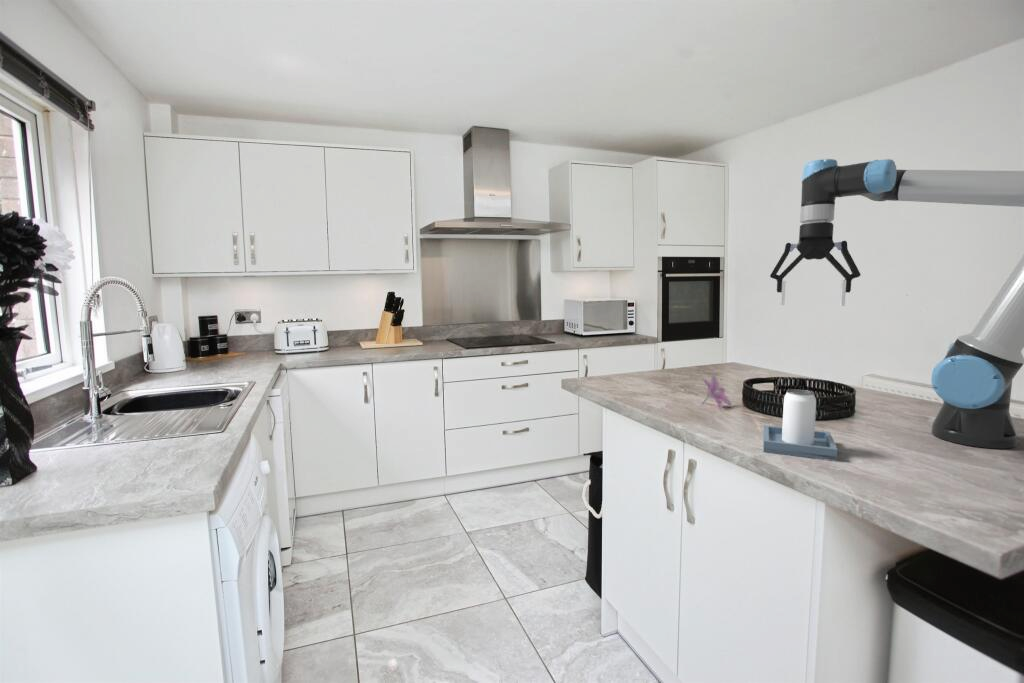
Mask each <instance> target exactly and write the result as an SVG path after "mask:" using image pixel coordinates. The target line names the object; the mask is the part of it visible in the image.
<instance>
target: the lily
mask: <svg viewBox="0 0 1024 683" xmlns="http://www.w3.org/2000/svg"><path fill="white" fill-rule="evenodd" d="M701 380H702V381H703V382H704V384H705V385H706V387H707V388H708V390H707V391H706V398H705V399H704V400H703V402H702V403H701V405H702V404H703V405H704V404H705V402H706V401H707V400H708V399H709V398H710V399H714V401H715V402H716V404H717V406H718V409H719V410H720V409H723V404H725V405H727V406H729V407H731V408H732V406H733V407H734V405H733V403H732V402H731V400H730V398H729V397H728V396H727V395H726V389H725V387H723V386H720V382H719V381H718V378H717V377H716V374H714V372H711V378H710V381H709V380H707V379H705V377H704V378H703V377H702V378H701Z"/></svg>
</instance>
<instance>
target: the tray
mask: <svg viewBox="0 0 1024 683" xmlns="http://www.w3.org/2000/svg"><path fill="white" fill-rule="evenodd" d="M763 453H769V454H775V455H777V454H778V455H784V456H785V455H786V456H794V457H801V456H802V458H808V457H810V458H809V459H816V458H818V460H824V459H828V460H827V461H832V460H834V461H833V462H837V461H838V448H837V445H836V443H835V440H834V439H833V435H832V434H831V432H830V431H822V430H815V431H814V443H813V444H812V445H804V444H795V443H787V442H783V440H782V426H774V425H765V424H764V425H763Z"/></svg>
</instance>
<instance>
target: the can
mask: <svg viewBox="0 0 1024 683" xmlns="http://www.w3.org/2000/svg"><path fill="white" fill-rule="evenodd" d="M782 409H783V410H782V426H781V427H782V440H783V442H787V443H795V444H804V445H812V444H813V443H814V431H816V429H815V428H816V416H817V415H816V412H817V398H816V397H815V392H813V391H811V390H807V389H796V388H795V389H794V388H793V389H787V390H786V393H785V395H784V396H783V408H782Z"/></svg>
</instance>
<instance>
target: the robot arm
mask: <svg viewBox="0 0 1024 683" xmlns="http://www.w3.org/2000/svg"><path fill="white" fill-rule="evenodd" d="M852 196H853V197H854V196H862V197H865V198H867V199H868V200H870V201H874V202H885V201H889V202H891V201H895V202H897V201H899V202H918V203H923V202H924V203H941V204H957V205H960V204H961V205H978V206H980V205H981V206H998V207H1001V206H1002V207H1016V208H1017V207H1018V208H1019V207H1020V208H1024V170H977V169H976V170H975V169H974V170H970V169H969V170H966V169H965V170H963V169H962V170H960V169H957V170H956V169H955V170H954V169H897V165H896V162H895V161H894V159H890V158H887V159H874V160H872V161H871V160H870V161H864V162H860V163H854V164H853V163H852V164H847V165H838V161H837V160H836V159H834V158H826V159H825V158H823V159H816V160H812V161H809V162H808V163H806V164H805V165H804V166H803V173H802V179H801V202H800V204H801V205H800V217H799V219H800V220H799V222H800V224H801V225H799V236H798V242H797V243H790V242H787V243H786V244H785V245H784V246H785V247H784V252H783V253H782V255H781V256H780V258H779V260H778V262H777V263H776V265H775V266H774V268H773V270H772V271H771V273H770V275H769V277H770V278H771V279H774V280H776V292H777V293H780V294H781V295H780V296H781V297H780V306H785V299H786V283H787V282H786V280H783V279H784V278H785V277H786V276H787V275H788V274H789V273H790V272H791V271H792V270H794V268H795V267H796V266H797V265H798V264H799V263H800V262H801V261H802V260H803V259H805V260H809V261H810V260H823V259H826V260H827V262H829V263H830V264H831V265H832V266H833V267H834V269H835V270H836V271H837V272H838V273H839V274H840V275H841V276H842V277H843V278H844V279H841V284H840V294H839V295H840V297H839V306H840V307H841V306H842V307H845V306H846V293H850V292H851V291H852V281H853V279H856V278H859V277H861V272H860V271H859V268H858V266H857V265H856V262H855V261H854V259H853V257H852V255H851V254H850V251H849V249H848V242H847V240H842V241H838V242H836V241H835V242H834V240H833V238H834V237H833V236H834V223H833V222H834V219H835V204H836V198H843V197H852ZM834 248H836V249H837V250H838V251H840V253H841V254H842V257H843V258H844V261H845V263H846V264H847V267H848V268H849V270H850V272H851V273H849V271H847V270H846V268H844V266H843V265H841V263H840V262H839V261H838V260H837V259H836V258H835V257H834V256H833V254H832V253H831V252H832V250H833V249H834ZM795 249H796V250H797V251H798V252H799V254H798V256H797V257H796V258H795V259H794V260H793V261H792V262H791V263H790V264H789V265H788V266H787V267H786V268H785V269H784V270H783V271H782V272H781V273H780V274H777V273H779V271H780V269H781V268H782V266H783V264H784V263H785V261H786V260H787V257H788V256H789V254H790V252H791V253H792V252H793V251H794V250H795ZM1023 349H1024V254H1023V255H1022V256H1021V258H1020V260H1019V261H1018V262H1017V264H1016V266H1015V267H1014V269H1013V270H1012V272H1011V273H1010V274H1009V276H1008V277H1007V279H1006V281H1005V282H1004V284H1003V285H1002V286H1001V288H1000V289H999V291H998V293H997V294H996V296H995V297H994V299H993V300H992V301H991V303H990V305H989V306H988V308H987V309H986V310H985V312H984V313H983V314H982V316H981V318H980V319H979V321H978V322H977V324H976V325H975V327H974V328H973V329H972V331H971V332H970V333H966V334H964V335H960V336H958V337H957V338H956V340H955V341H954V342H952V343H950V344H949V346H948V350H947V351H946V355H945V356H944V358H943V359H942V360H940V361H939V363H937V364H936V365H935V366H934V368H933V370H932V372H931V385H932V388H933V390H934V392H935V393H936V395H937V396H938V397H939V398H940V399H942V400H943V403H942V406H941V407H940V410H939V411H938V413H937V415H936V417H935V419H934V420H933V422H932V424H931V434H932V435H933V436H935V437H936V438H939V439H940V440H944V441H947V442H952V443H954V444H959V445H965V446H971V447H978V448H987V449H1012V448H1016V447H1017V442H1018V435H1017V432H1016V429H1015V426H1014V422H1013V419H1012V417H1011V413H1010V406H1011V396H1012V388H1013V380H1014V379H1015V377H1016V375H1017V373H1018V372H1019V371H1020V370H1021V368H1022V367H1023V365H1024V355H1023V354H1022V351H1023Z"/></svg>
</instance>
